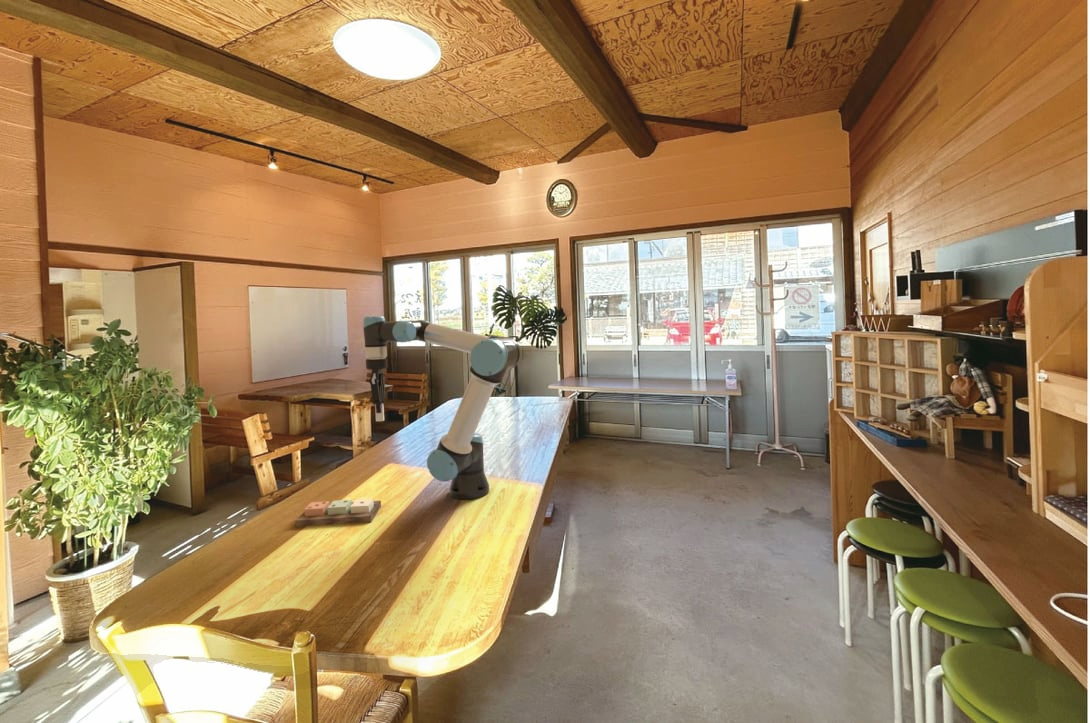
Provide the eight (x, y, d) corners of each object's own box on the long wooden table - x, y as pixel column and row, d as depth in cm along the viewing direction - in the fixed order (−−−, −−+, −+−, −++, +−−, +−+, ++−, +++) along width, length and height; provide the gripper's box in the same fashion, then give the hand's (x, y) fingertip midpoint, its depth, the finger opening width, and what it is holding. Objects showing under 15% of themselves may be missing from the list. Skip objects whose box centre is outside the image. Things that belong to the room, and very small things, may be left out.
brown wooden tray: (381, 506, 168) (380, 500, 168) (371, 522, 155) (370, 515, 155) (311, 510, 166) (311, 504, 166) (296, 526, 153) (295, 520, 153)
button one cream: (373, 506, 164) (373, 498, 164) (369, 514, 159) (368, 505, 158) (356, 508, 164) (355, 499, 164) (350, 515, 158) (350, 506, 158)
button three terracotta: (329, 509, 163) (329, 501, 163) (323, 516, 157) (322, 508, 157) (312, 510, 163) (311, 502, 162) (304, 518, 157) (304, 509, 156)
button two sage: (352, 507, 164) (351, 499, 163) (346, 515, 158) (345, 506, 158) (334, 509, 163) (333, 500, 163) (328, 516, 157) (327, 507, 157)
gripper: (370, 357, 178) (374, 417, 181) (360, 360, 166) (364, 425, 168) (390, 356, 179) (394, 416, 181) (382, 359, 166) (386, 424, 169)
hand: (380, 420), depth 175 cm, fingers closed
